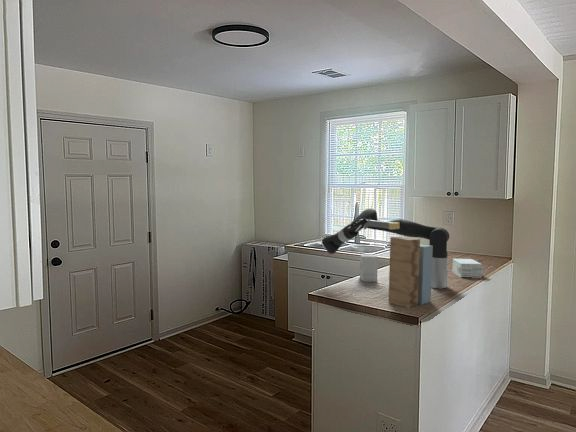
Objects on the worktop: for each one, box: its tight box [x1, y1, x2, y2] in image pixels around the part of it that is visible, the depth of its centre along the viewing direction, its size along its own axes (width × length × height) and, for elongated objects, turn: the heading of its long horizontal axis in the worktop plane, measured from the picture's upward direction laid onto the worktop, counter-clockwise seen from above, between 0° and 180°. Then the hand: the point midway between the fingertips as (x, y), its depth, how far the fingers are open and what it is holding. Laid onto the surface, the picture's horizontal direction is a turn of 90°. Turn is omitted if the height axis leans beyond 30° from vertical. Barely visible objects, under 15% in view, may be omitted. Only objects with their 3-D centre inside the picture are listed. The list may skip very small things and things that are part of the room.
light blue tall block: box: [418, 243, 433, 305], centre depth 215 cm, size 7×12×28 cm, turn 36°
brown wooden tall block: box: [388, 235, 421, 309], centre depth 209 cm, size 7×12×32 cm, turn 36°
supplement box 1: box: [359, 254, 379, 283], centre depth 259 cm, size 9×9×15 cm
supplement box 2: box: [451, 258, 483, 279], centre depth 277 cm, size 17×13×9 cm
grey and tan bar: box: [359, 219, 400, 230], centre depth 222 cm, size 6×24×3 cm, turn 36°
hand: (368, 219), depth 227 cm, fingers closed on grey and tan bar, 3 cm apart
